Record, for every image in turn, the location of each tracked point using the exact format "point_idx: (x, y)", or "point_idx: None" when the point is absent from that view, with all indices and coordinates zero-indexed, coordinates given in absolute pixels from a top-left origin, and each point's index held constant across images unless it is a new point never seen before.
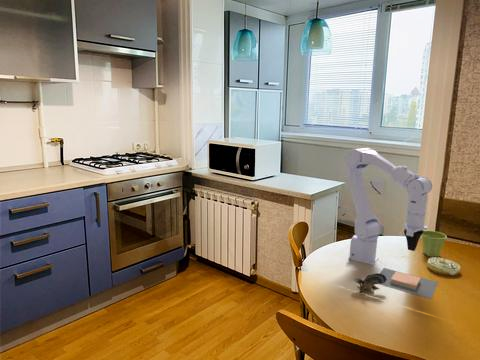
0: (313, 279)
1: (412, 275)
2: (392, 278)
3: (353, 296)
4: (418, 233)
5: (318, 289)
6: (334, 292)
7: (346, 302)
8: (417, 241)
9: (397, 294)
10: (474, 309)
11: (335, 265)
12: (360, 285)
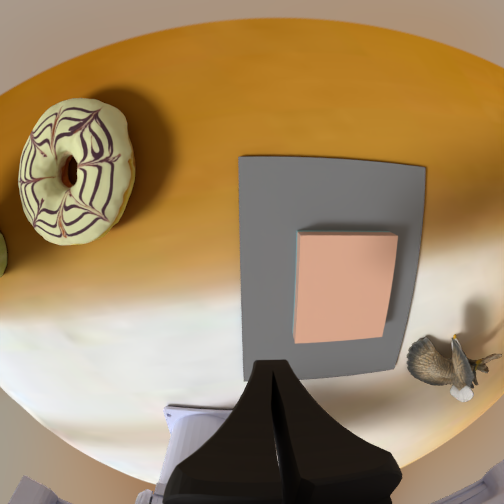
0: (417, 448)
1: (242, 273)
2: (377, 333)
3: None
4: (346, 498)
5: (457, 419)
6: None
7: (496, 359)
8: (329, 416)
9: (434, 280)
10: (385, 30)
11: None
12: (475, 375)
